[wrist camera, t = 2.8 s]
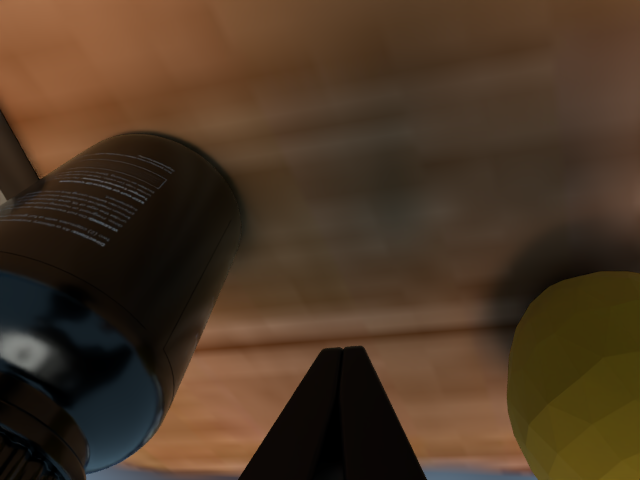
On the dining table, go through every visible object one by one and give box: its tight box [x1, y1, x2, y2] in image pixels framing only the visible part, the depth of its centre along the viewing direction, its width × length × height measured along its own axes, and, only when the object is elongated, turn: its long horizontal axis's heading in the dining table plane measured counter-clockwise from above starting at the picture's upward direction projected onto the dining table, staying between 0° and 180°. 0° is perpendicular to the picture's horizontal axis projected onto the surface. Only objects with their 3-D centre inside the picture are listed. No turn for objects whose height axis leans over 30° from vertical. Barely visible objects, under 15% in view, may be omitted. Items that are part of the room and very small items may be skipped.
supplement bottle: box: [0, 134, 241, 480], centre depth 12 cm, size 7×7×12 cm
